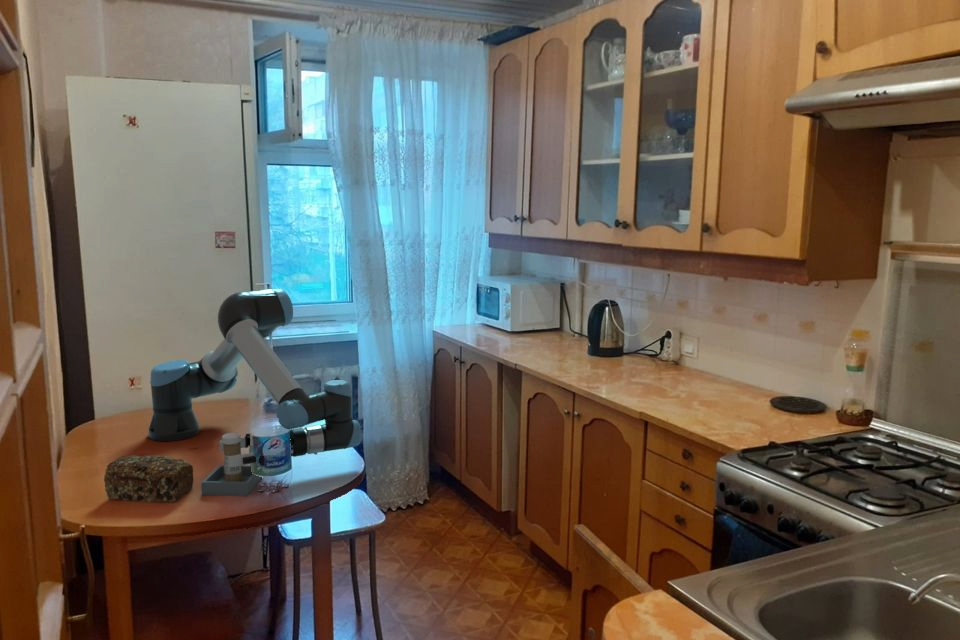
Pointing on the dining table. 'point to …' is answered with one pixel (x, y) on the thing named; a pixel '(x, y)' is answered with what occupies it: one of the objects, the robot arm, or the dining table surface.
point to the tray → (229, 483)
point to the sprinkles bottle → (230, 449)
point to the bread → (148, 478)
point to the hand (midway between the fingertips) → (223, 453)
